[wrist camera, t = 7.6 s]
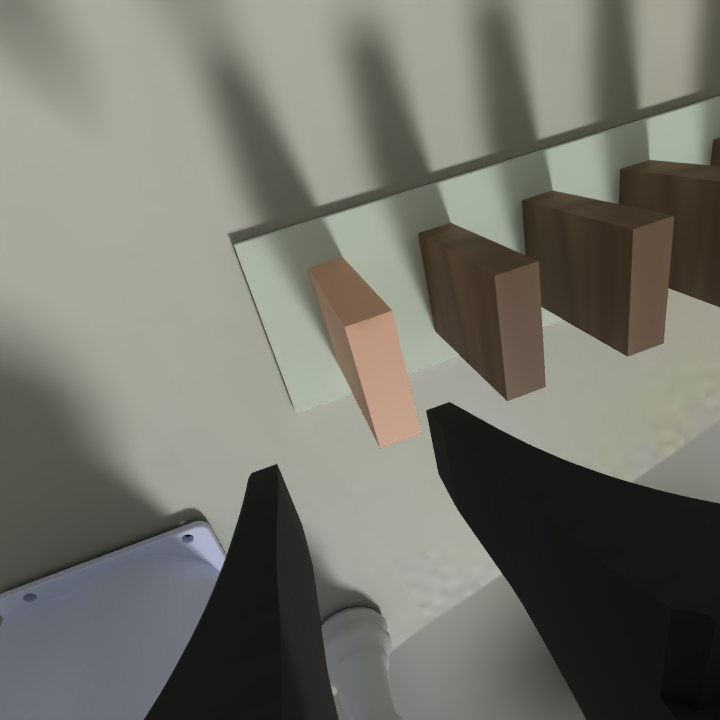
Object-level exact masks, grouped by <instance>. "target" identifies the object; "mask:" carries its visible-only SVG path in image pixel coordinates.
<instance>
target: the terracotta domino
mask: <svg viewBox="0 0 720 720" xmlns="http://www.w3.org/2000/svg"><path fill="white" fill-rule="evenodd" d="M308 270H309V273H310V276H311V279H312V283H313V286H314V289H315V292H316V295H317V298H318V302H319V305H320V308H321V311H322V314H323V317H324V321H325V324H326V327H327V330H328V333H329V336H330V340H331V343H332V346H333V349H334V352H335V355H336V359H337V362H338V365H339V367H340V369H341V371H342V373H343V375H344V377H345V379H346V381H347V383H348V385H349V387H350V389H351V391H352V393H353V395H354V397H355V399H356V401H357V403H358V405H359V407H360V409H361V411H362V413H363V415H364V417H365V419H366V421H367V423H368V425H369V427H370V429H371V431H372V433H373V435H374V437H375V439H376V441H377V443H378V445H379V447H380V449H381V448H384V447H386V446H389V445H392V444H394V443H397V442H399V441H402V440H405V439H407V438H410V437H413V436H415V435H418V434H420V433H421V430H420V426H419V421H418V417H417V413H416V409H415V404H414V400H413V396H412V392H411V387H410V383H409V379H408V375H407V370H406V366H405V362H404V358H403V353H402V349H401V345H400V341H399V336H398V332H397V328H396V324H395V320H394V315H393V311H392V310H391V309H390V307H389V306H388V305H387V304H386V303H385V302H384V301H383V300H382V299H381V298H380V297H379V296H378V295H377V293H376V292H375V291H374V290H373V289H372V288H371V287H370V286H369V285H368V284H367V283H366V282H365V281H364V279H363V278H362V277H361V276H360V275H359V274H358V273H357V272H356V271H355V270H354V269H353V268H352V267H351V265H350V264H349V263H348V262H347V261H346V260H345V259H344V258H343V257H342V258H339V259H336V260H333V261H330V262H327V263H324V264H321V265H318V266H315V267H312V268H309V269H308Z"/></svg>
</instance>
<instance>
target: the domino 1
mask: <svg viewBox="0 0 720 720" xmlns="http://www.w3.org/2000/svg"><path fill="white" fill-rule="evenodd" d="M418 237H419V243H420V248H421V254H422V259H423V265H424V271H425V276H426V282H427V288H428V293H429V299H430V305H431V310H432V316H433V322H434V327H435V332H436V333H437V334H438V335H439V336H440V337H441V338H442V339H443V340H444V341H445V342H447V343H448V344H449V345H450V346H451V347H452V348H453V349H454V350H455V351H456V352H457V353H458V354H459V355H460V356H461V357H462V358H463V359H464V360H465V361H466V362H467V363H468V364H469V365H470V366H471V367H472V368H474V369H475V370H476V371H477V372H478V373H479V374H480V375H481V376H482V377H483V378H484V379H485V380H486V381H487V382H488V383H489V384H490V385H491V386H492V387H493V388H494V389H495V390H496V391H497V392H498V393H499V394H501V395H502V396H503V397H504V398H505V399H506V400H507V401H509V400H511V399H514V398H517V397H520V396H522V395H525V394H528V393H530V392H533V391H536V390H539V389H541V388H544V387H546V385H545V366H544V348H543V330H542V311H541V293H540V275H539V261H537V260H535V259H533V258H530V257H528V256H526V255H524V254H521V253H519V252H517V251H514V250H512V249H510V248H508V247H505V246H503V245H501V244H498V243H496V242H494V241H492V240H489V239H487V238H485V237H482V236H480V235H478V234H476V233H473V232H471V231H469V230H466V229H464V228H462V227H459V226H457V225H455V224H453V223H448V224H445V225H442V226H439V227H436V228H432V229H429V230H426V231H423V232H420V233H418Z"/></svg>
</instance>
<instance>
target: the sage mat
mask: <svg viewBox="0 0 720 720" xmlns="http://www.w3.org/2000/svg"><path fill="white" fill-rule="evenodd" d="M717 138H720V96H717V97H713V98H710V99H707V100H703V101H700V102H697V103H694V104H690V105H687V106H684V107H680V108H677V109H674V110H671V111H667V112H664V113H661V114H657V115H654V116H651V117H648V118H644V119H641V120H638V121H634V122H631V123H628V124H625V125H621V126H618V127H615V128H611V129H608V130H605V131H602V132H598V133H595V134H592V135H588V136H585V137H582V138H579V139H575V140H572V141H569V142H565V143H562V144H559V145H556V146H552V147H549V148H546V149H542V150H539V151H536V152H533V153H529V154H526V155H523V156H520V157H516V158H513V159H510V160H506V161H503V162H500V163H497V164H493V165H490V166H487V167H483V168H480V169H477V170H474V171H470V172H467V173H464V174H460V175H457V176H454V177H451V178H447V179H444V180H441V181H437V182H434V183H431V184H428V185H424V186H421V187H418V188H414V189H411V190H408V191H405V192H401V193H398V194H395V195H391V196H388V197H385V198H382V199H378V200H375V201H372V202H368V203H365V204H362V205H359V206H355V207H352V208H349V209H345V210H342V211H339V212H336V213H332V214H329V215H326V216H322V217H319V218H316V219H313V220H309V221H306V222H303V223H300V224H296V225H293V226H290V227H286V228H283V229H280V230H277V231H273V232H270V233H267V234H263V235H260V236H257V237H254V238H250V239H247V240H244V241H240V242H237V243H234V247H235V250H236V252H237V255H238V258H239V260H240V263H241V266H242V269H243V271H244V274H245V277H246V279H247V282H248V285H249V287H250V290H251V293H252V295H253V298H254V301H255V304H256V306H257V309H258V312H259V314H260V317H261V320H262V322H263V325H264V328H265V331H266V333H267V336H268V339H269V341H270V344H271V347H272V349H273V352H274V355H275V358H276V360H277V363H278V366H279V368H280V371H281V374H282V376H283V379H284V382H285V384H286V387H287V390H288V393H289V395H290V398H291V401H292V403H293V406H294V409H295V411H296V414H297V413H300V412H303V411H306V410H308V409H311V408H314V407H317V406H320V405H323V404H325V403H328V402H331V401H334V400H337V399H340V398H342V397H345V396H348V395H351V394H353V393H352V391H351V389H350V387H349V385H348V383H347V381H346V379H345V377H344V375H343V373H342V371H341V369H340V367H339V365H338V362H337V359H336V355H335V352H334V349H333V346H332V343H331V340H330V336H329V333H328V330H327V327H326V324H325V321H324V317H323V314H322V311H321V308H320V305H319V302H318V298H317V295H316V292H315V289H314V286H313V283H312V279H311V276H310V273H309V270H308V269H309V268H312V267H315V266H318V265H321V264H324V263H327V262H330V261H333V260H336V259H339V258H342V257H343V258H344V259H345V260H346V261H347V262H348V263H349V264H350V265H351V267H352V268H353V269H354V270H355V271H356V272H357V273H358V274H359V275H360V276H361V277H362V278H363V279H364V281H365V282H366V283H367V284H368V285H369V286H370V287H371V288H372V289H373V290H374V291H375V292H376V293H377V295H378V296H379V297H380V298H381V299H382V300H383V301H384V302H385V303H386V304H387V305H388V306H389V307H390V309H391V310H392V311H393V315H394V320H395V324H396V328H397V332H398V336H399V341H400V345H401V349H402V353H403V358H404V362H405V366H406V370H407V375H408V374H410V373H413V372H416V371H419V370H422V369H425V368H427V367H430V366H433V365H436V364H439V363H441V362H444V361H447V360H450V359H453V358H456V357H458V356H460V355H459V354H458V353H457V352H456V351H455V350H454V349H453V348H452V347H451V346H450V345H449V344H448V343H447V342H445V341H444V340H443V339H442V338H441V337H440V336H439V335H438V334H437V333H436V332H435V327H434V322H433V316H432V310H431V305H430V299H429V293H428V288H427V282H426V276H425V271H424V265H423V259H422V254H421V248H420V243H419V237H418V233H420V232H423V231H426V230H429V229H432V228H436V227H439V226H442V225H445V224H448V223H453V224H455V225H457V226H459V227H462V228H464V229H466V230H469V231H471V232H473V233H476V234H478V235H480V236H482V237H485V238H487V239H489V240H492V241H494V242H496V243H498V244H501V245H503V246H505V247H508V248H510V249H512V250H514V251H517V252H519V253H521V254H524V255H525V241H524V226H523V212H522V200H524V199H527V198H530V197H534V196H537V195H540V194H543V193H546V192H549V191H552V190H554V191H558V192H563V193H568V194H573V195H577V196H582V197H587V198H592V199H597V200H601V201H606V202H611V203H616V204H619V188H620V169H622V168H625V167H628V166H631V165H635V164H638V163H641V162H644V161H647V160H658V161H669V162H679V163H690V164H701V165H710V163H711V155H712V146H713V140H714V139H717ZM541 311H542V327H543V326H546V325H549V324H552V323H555V322H558V321H560V320H563V319H561V318H560V317H558V316H556V315H554V314H553V313H551V312H549V311H547V310H546V309H544V308H542V307H541Z"/></svg>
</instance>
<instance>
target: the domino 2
mask: <svg viewBox="0 0 720 720" xmlns="http://www.w3.org/2000/svg"><path fill="white" fill-rule="evenodd" d="M522 212H523V226H524V241H525V255H526V256H528V257H530V258H533V259H535V260H537V261H539V275H540V293H541V307H542V308H544V309H546V310H547V311H549V312H551V313H553V314H554V315H556V316H558V317H560V318H561V319H563V320H565V321H567V322H568V323H570V324H572V325H574V326H575V327H577V328H579V329H581V330H582V331H584V332H586V333H588V334H589V335H591V336H593V337H595V338H596V339H598V340H600V341H602V342H603V343H605V344H607V345H608V346H610V347H612V348H614V349H615V350H617V351H619V352H621V353H622V354H624V355H626V356H630V355H633V354H636V353H639V352H641V351H644V350H647V349H649V348H652V347H655V346H657V345H660V344H663V343H664V332H665V320H666V308H667V297H668V285H669V273H670V261H671V250H672V238H673V226H674V216H673V215H669V214H664V213H659V212H654V211H649V210H645V209H640V208H635V207H630V206H625V205H621V204H616V203H611V202H606V201H601V200H597V199H592V198H587V197H582V196H577V195H573V194H568V193H563V192H558V191H554V190H552V191H549V192H546V193H543V194H540V195H537V196H534V197H530V198H527V199H524V200H522Z"/></svg>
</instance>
